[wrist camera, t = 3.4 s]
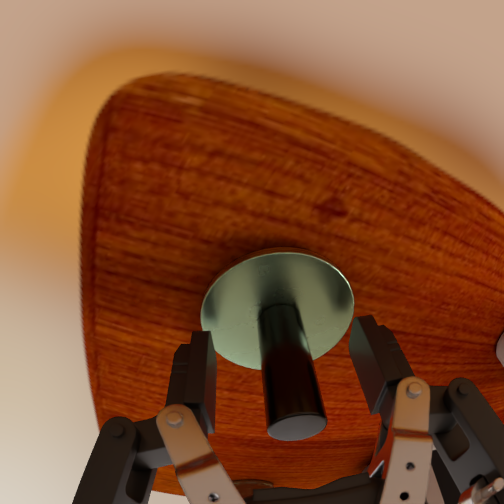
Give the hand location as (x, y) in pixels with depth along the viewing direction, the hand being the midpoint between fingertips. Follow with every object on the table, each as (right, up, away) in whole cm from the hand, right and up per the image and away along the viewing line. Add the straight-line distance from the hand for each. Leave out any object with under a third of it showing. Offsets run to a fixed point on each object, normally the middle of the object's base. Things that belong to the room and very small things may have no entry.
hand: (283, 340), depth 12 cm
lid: (0, +1, +1) cm, 2 cm away
